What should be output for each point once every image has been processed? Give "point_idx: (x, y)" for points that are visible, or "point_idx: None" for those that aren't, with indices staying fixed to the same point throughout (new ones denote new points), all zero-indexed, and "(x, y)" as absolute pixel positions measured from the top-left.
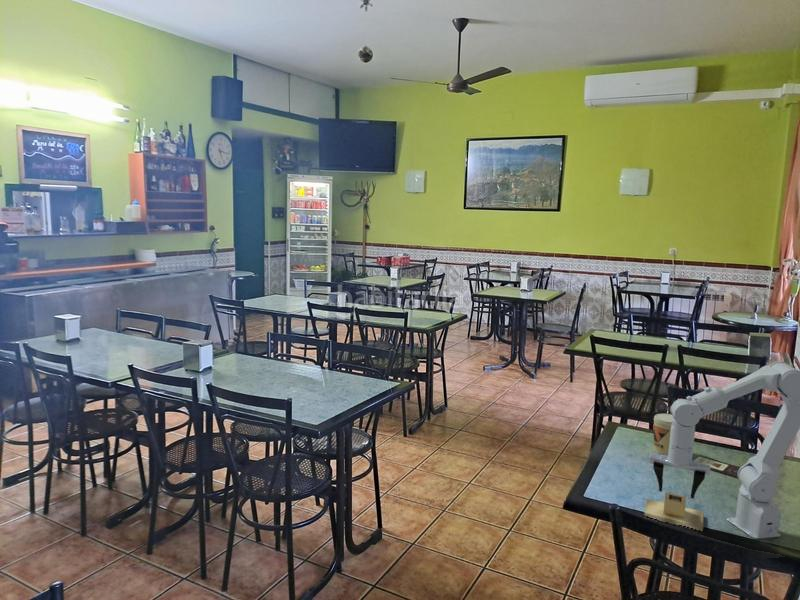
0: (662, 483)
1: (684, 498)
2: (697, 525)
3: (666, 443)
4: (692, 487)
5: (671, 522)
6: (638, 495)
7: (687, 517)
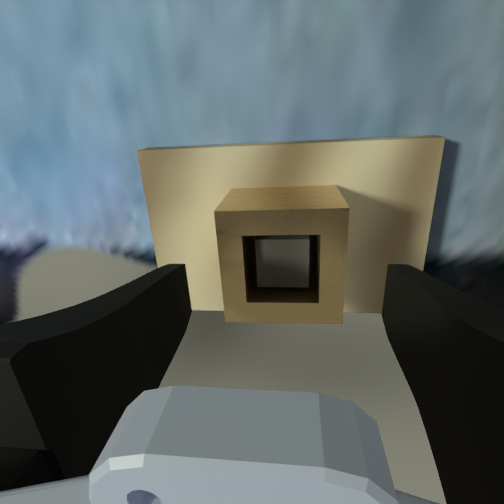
0: (169, 295)
1: (339, 243)
2: None
3: None
4: (413, 344)
5: None
6: (85, 73)
7: (349, 257)
